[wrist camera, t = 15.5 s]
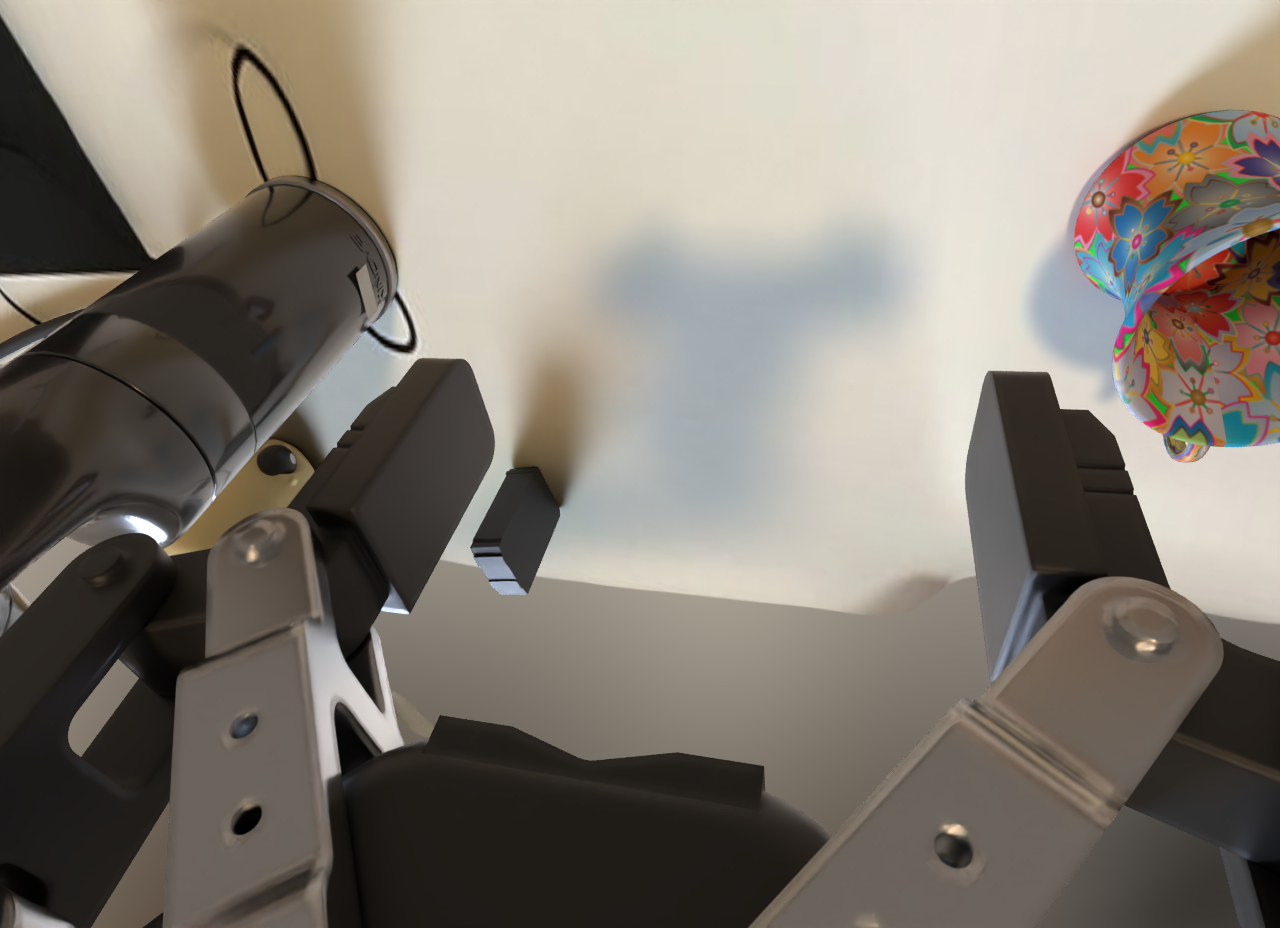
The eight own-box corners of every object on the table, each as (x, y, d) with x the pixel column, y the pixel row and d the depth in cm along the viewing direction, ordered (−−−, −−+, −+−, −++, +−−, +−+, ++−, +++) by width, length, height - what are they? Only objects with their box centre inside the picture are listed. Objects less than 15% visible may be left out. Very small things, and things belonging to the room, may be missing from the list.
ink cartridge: (509, 466, 53) (466, 549, 47) (537, 464, 52) (496, 549, 46) (534, 513, 56) (497, 597, 50) (561, 512, 55) (526, 597, 50)
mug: (1091, 100, 30) (1164, 213, 22) (1369, 81, 27) (1555, 201, 20) (1027, 348, 38) (1065, 492, 30) (1238, 350, 35) (1336, 508, 28)
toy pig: (318, 474, 65) (358, 545, 58) (178, 543, 61) (204, 628, 54) (265, 387, 58) (304, 456, 51) (104, 458, 54) (123, 543, 47)
